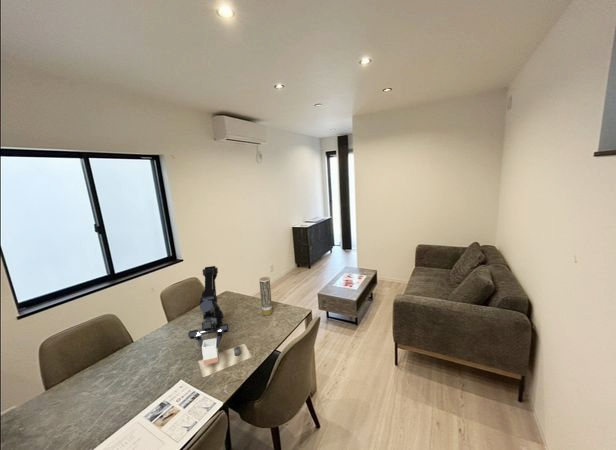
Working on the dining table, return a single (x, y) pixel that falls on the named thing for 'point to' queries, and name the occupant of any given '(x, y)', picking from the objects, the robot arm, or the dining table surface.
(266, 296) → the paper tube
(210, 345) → the sleeve
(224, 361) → the pin board
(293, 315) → the dining table surface
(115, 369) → the dining table surface
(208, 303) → the robot arm
